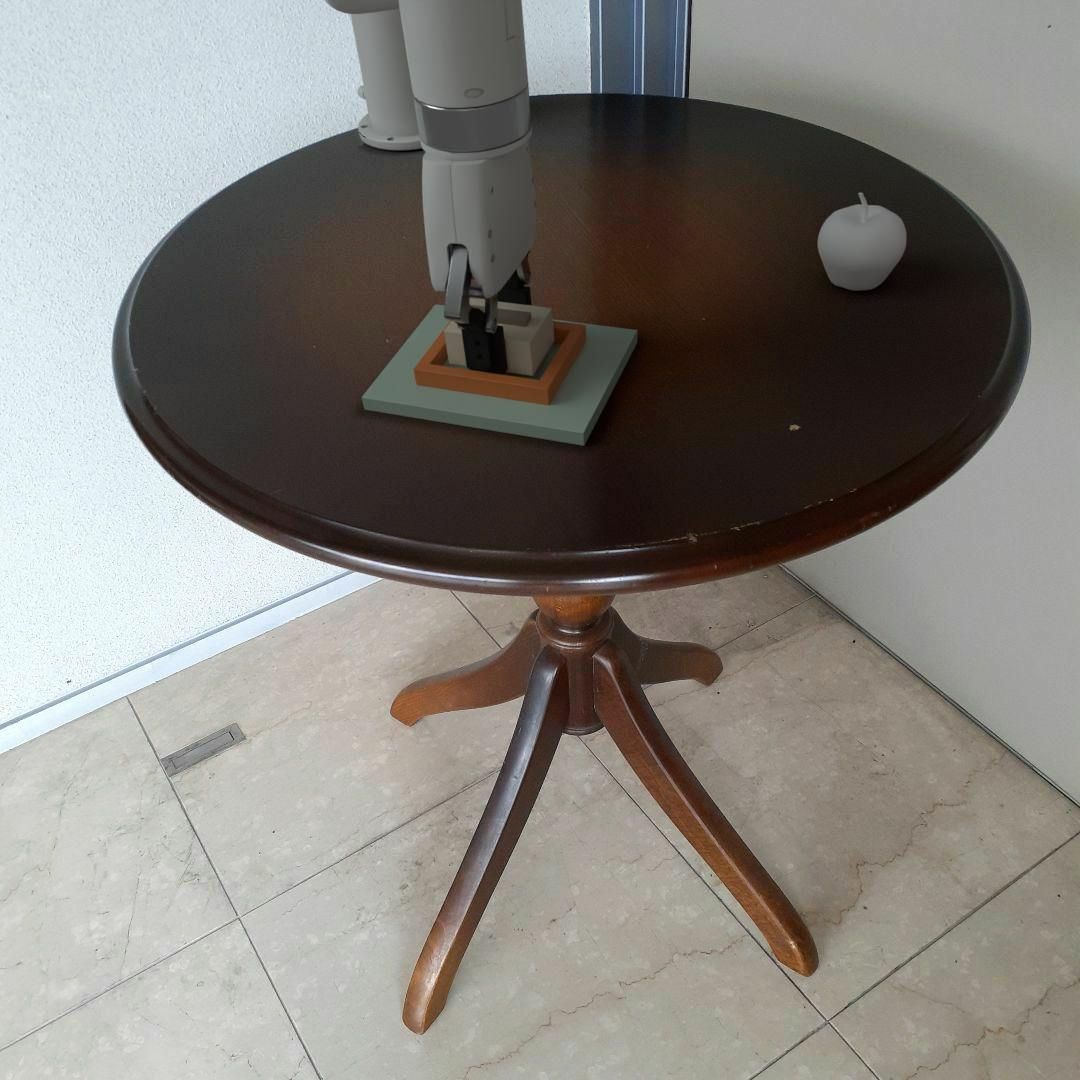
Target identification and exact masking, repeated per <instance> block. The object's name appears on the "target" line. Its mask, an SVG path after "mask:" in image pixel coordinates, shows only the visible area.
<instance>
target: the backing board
mask: <svg viewBox="0 0 1080 1080" xmlns="http://www.w3.org/2000/svg"><path fill="white" fill-rule="evenodd" d="M444 306H445V304H434V306H433V307H432V308H431V309H430V311H429V312H428V313H427V314H426V315H425V317H424V318H423V319H422V321H421V322H420V323H419V325H418V326H417V327H415V329H414V330H413V331H412V333H411V335H410V336H409V337H408V338H407V340H406V341H405V342H404V343H403V345H402V346H401V347H400V348H399V349H398V351H397V352H396V353H395V354H394V356H393V357H392V358H391V360H390V361H389V362H388V363H387V365H386V366H385V367H384V368H383V370H382V371H381V372H380V373H379V375H378V376H377V377H376V378H375V379H374V381H373V382H372V383H371V385H369V387H368V388H367V390H365V392H364V393H363V395H362V396H361V401H362V406H363V409H364V410H365V411H370V412H376V413H382V414H389V415H394V416H401V417H407V418H413V419H419V420H425V421H430V422H431V421H432V422H436V423H442V424H443V423H444V424H449V425H455V426H456V425H457V426H462V427H466V428H474V429H479V430H480V429H481V430H485V431H486V430H487V431H492V432H497V433H503V434H509V435H516V436H522V437H528V438H535V439H539V440H547V441H553V442H557V443H565V444H571V445H577V446H581V447H582V446H585V445H586V443H587V441H588V440H589V437H590V436H591V434H592V433H593V430H594V428H595V426H596V424H597V422H598V420H599V418H600V416H601V414H602V412H603V410H604V408H605V406H606V405H607V402H608V401H609V398H610V397H611V395H612V393H613V391H614V389H615V387H616V385H617V384H618V381H619V380H620V377H621V376H622V373H623V372H624V369H625V367H626V366H627V363H628V362H629V359H630V358H631V356H632V354H633V352H634V350H635V349H636V345H637V344H638V329H630V328H625V327H616V326H607V325H600V324H593V323H584V322H578V321H577V322H576V321H569V320H562V319H554V318H553V327H554V343H553V344H552V346H551V347H550V349H549V351H548V352H547V354H546V356H545V357H544V359H543V360H542V362H541V364H540V365H539V367H538V369H537V370H536V372H535V373H534V375H533V376H529V375H523V374H516V373H509V372H505V374H503V375H501V374H494V373H488V372H481V371H474V370H470V369H468V368H467V366H461V365H454V364H449V360H448V353H447V347H446V341H445V334H444V330H445V329H446V328H447V326H448V325H449V324H450V322H451V320H448V319H445V317H444Z"/></svg>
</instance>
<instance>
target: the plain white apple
mask: <svg viewBox="0 0 1080 1080" xmlns="http://www.w3.org/2000/svg"><path fill="white" fill-rule="evenodd" d="M857 194H858V197H859V200H860V203H861V204H853V205H850V206H847V207H843V208H840V209H838V210H835V211H833V212H832V213H831V214H830V215H829V216H828V217H827V218H826V219H825V220H824V222H823V224H822V225H821V228H820V230H819V233H818V237H817V242H816V243H817V250H818V254H819V257H820V260H821V262H822V264H823V268H824V270H825V272H826V275H827V278H828V279H829V281H830V283H832V285H834V286H836V287H838V288H842V289H846V290H848V291H851V292H858V291H859V292H860V291H869V290H874V289H876V288H877V287H879V286H880V285H881V284H882V283H884V282H885V281H886V279H887V278H888V277H889V275H890V274H891V272H893V270H894V268H895V267H896V266H897V265H898V264H899V262H900V261H901V259H902V257H903V255H904V253H905V250H906V248H907V230H906V226H905V223H904V221H903V220H902V218H901V217H900V216H899V215H898V214H896V213H895V212H893V211H891V210H890V209H888V208H886V207H884V206H882V205H874V204H868V202H867V199H866V197H865V195H864V193H863V192H858V193H857Z"/></svg>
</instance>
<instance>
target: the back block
mask: <svg viewBox="0 0 1080 1080" xmlns="http://www.w3.org/2000/svg"><path fill="white" fill-rule="evenodd" d="M470 306H472V307H474V308H479V309H480V310H482V311H483V312H484V313H485V299H484V298H476V297H470ZM553 319H554V316H553V307H546V306H539V305H521V304H514V303H506V302H498V325H499V326H503V330H504V339H505V348H506V357H507V365H508V369H507V371H506V372H509V373H516V374H523V375H529V376H533V375H534V373H535V372H536V370H537V369H538V367H539V365H540V364H541V362H542V360H543V359H544V357H545V356H546V354H547V352H548V351H549V349H550V347H551V346H552V344H553V343H554V327H553ZM444 334H445V341H446V347H447V353H448V360H449V364H454V365H461V366H467V365H466V359H465V352H464V345H463V338H462V331H461V329H459V328H458V326H457V323H455V322H454V321H451V322H450V324H449V325H448V326H447V328H446V329H445V330H444Z"/></svg>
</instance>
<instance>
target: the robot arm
mask: <svg viewBox="0 0 1080 1080" xmlns="http://www.w3.org/2000/svg"><path fill="white" fill-rule="evenodd" d="M324 1H325V3H326V4H327V5H328V6H329V7H331V8H332V9H334V10H335V11H337V12H340V13H343V14H347V15H350V18H351V26H352V31H353V35H354V40H355V46H356V52H357V57H358V62H359V68H360V74H361V79H362V84H363V85H360V86H359V87H358V88H357V95H358V97H360V99H363V100H365V103H366V108H367V113H366V115H364V116H363V117H362V118H361V119H360V121H359V122H358V124H357V131H358V137H359V138H360V140H361V142H363V143H364V144H366V145H367V146H370V147H371V148H375V149H379V150H385V151H414V150H420V149H421V150H423V151H424V154H423V156H422V168H421V169H422V170H421V187H422V188H421V189H422V191H421V193H422V194H421V195H422V211H423V213H422V214H423V223H424V224H423V225H424V235H425V244H426V253H427V261H428V262H427V263H428V268H429V276H430V282H431V285H432V288H433V290H434V291H435V292H436V293H440V294H441V293H445V300H444V317H445V319H448V320H451V321H454V322H455V323H457V326H458V328H459V329H461V331H462V338H463V345H464V352H465V359H466V365H467V368H468V369H470V370H474V371H481V372H488V373H494V374H501V375H503V374H505V372H506V371H507V369H508V365H507V357H506V348H505V339H504V330H503V326H499V325H498V302H506V303H514V304H521V305H532V294H531V293H532V292H531V286H528V285H529V284H530V282H531V277H532V271H531V267H530V263H529V254H530V253H531V249H532V247H533V245H534V243H535V241H536V238H537V232H538V217H537V216H538V215H537V200H536V191H535V183H534V182H535V181H534V174H533V167H532V166H533V165H532V158H531V153H530V147H529V141H530V140H531V139H532V136H533V127H532V126H533V125H532V114H531V113H532V111H531V99H530V89H529V75H528V62H527V50H526V49H527V48H526V37H525V26H524V25H525V24H524V13H523V1H522V0H324ZM359 132H360V133H361V134H362V135H363V136H365V137H366V138H365V137H363V136H362V135H361V134H360V133H359ZM472 280H474V281H475V282H476V284H472ZM470 298H476V299H484V300H485V313H484V312H483V311H482V310H480V309H479V308H474V307H472V306H470ZM532 306H533V305H532Z"/></svg>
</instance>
